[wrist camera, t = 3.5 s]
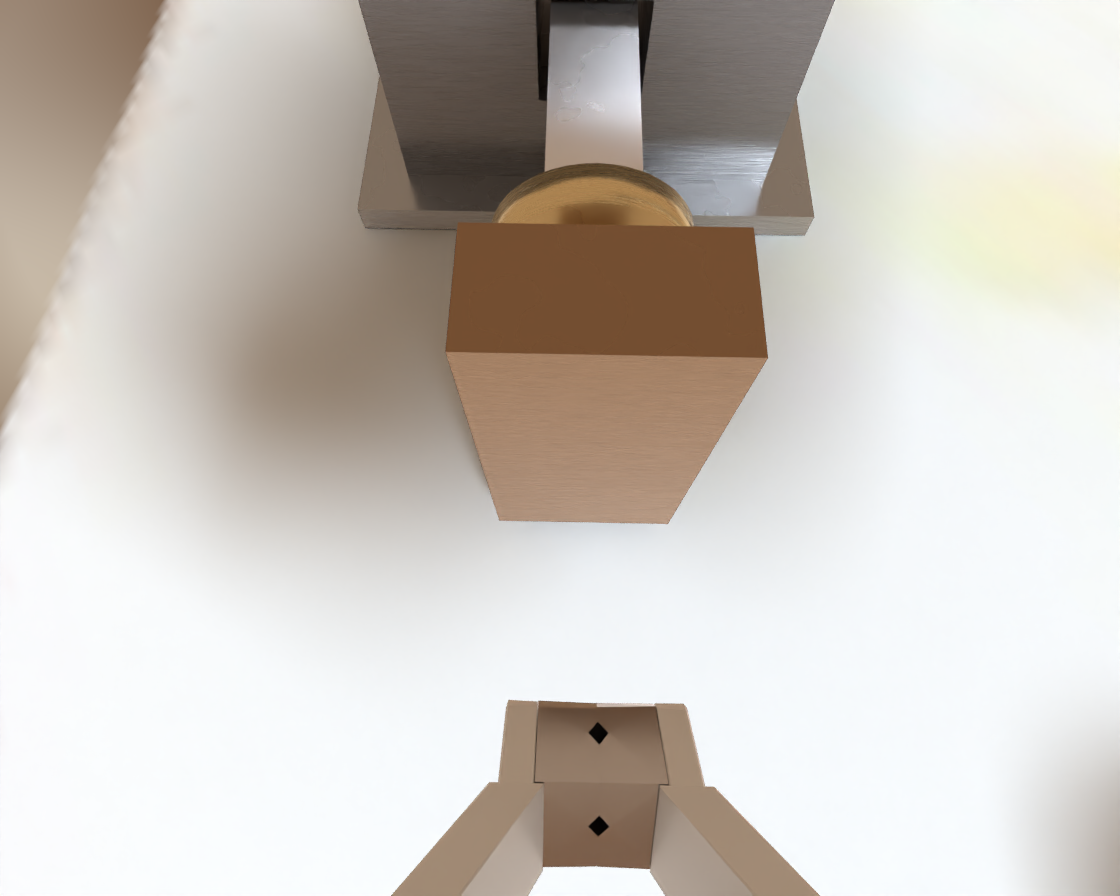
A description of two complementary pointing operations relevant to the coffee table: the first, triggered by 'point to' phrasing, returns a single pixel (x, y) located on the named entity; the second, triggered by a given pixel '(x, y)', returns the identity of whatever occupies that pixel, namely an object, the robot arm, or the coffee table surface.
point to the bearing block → (521, 108)
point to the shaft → (599, 306)
